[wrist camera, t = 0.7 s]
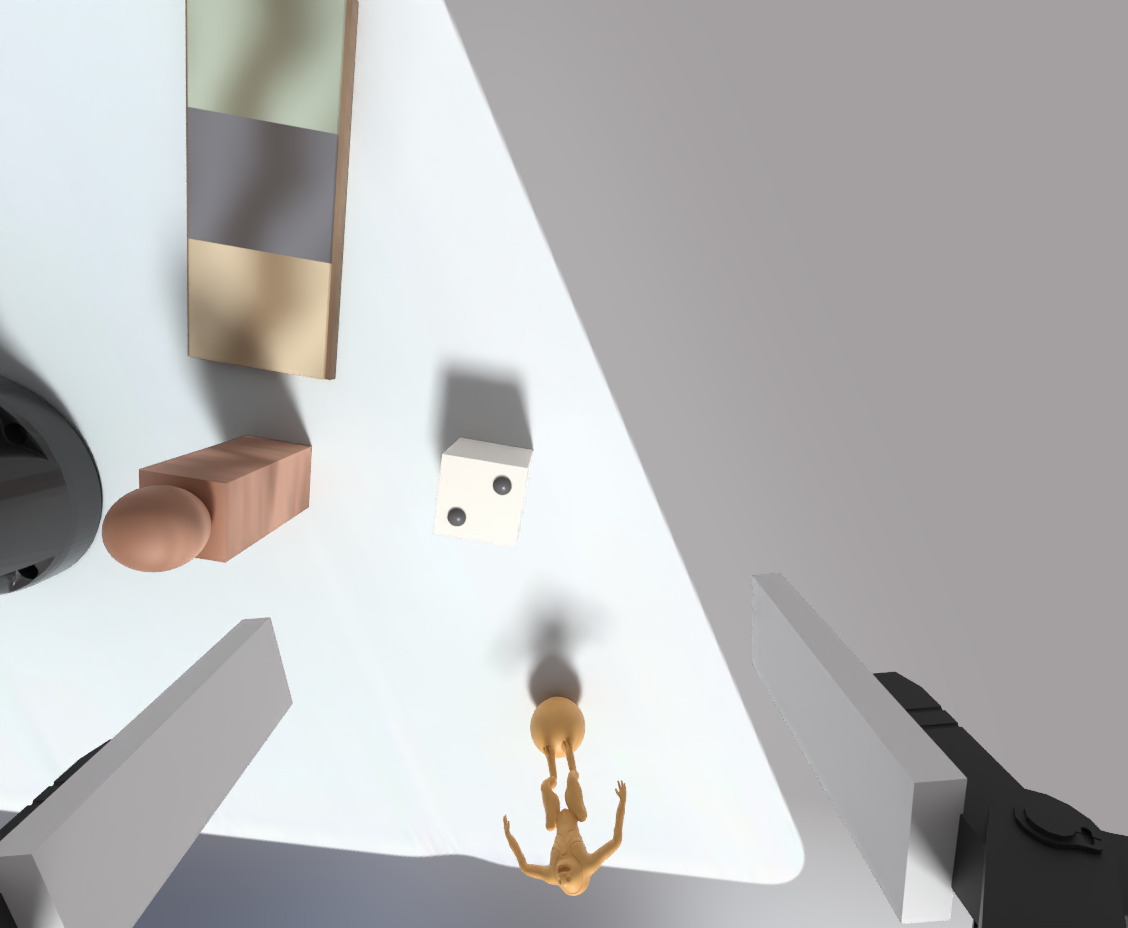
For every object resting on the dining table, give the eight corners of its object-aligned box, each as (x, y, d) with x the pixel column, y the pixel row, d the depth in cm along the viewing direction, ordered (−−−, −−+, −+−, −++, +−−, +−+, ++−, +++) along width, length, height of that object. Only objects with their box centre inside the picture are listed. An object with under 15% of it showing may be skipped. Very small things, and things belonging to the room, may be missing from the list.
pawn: (245, 496, 36) (76, 581, 24) (246, 435, 35) (70, 491, 23) (308, 507, 36) (173, 596, 24) (311, 446, 35) (172, 507, 23)
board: (196, 355, 34) (184, 355, 33) (195, -29, 29) (181, -43, 28) (335, 378, 34) (327, 380, 33) (358, 2, 29) (350, -11, 28)
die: (451, 506, 36) (432, 534, 31) (460, 437, 35) (441, 454, 30) (522, 518, 36) (514, 547, 31) (533, 449, 35) (527, 468, 30)
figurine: (600, 669, 39) (612, 812, 27) (627, 733, 40) (649, 894, 29) (498, 703, 40) (468, 855, 28) (528, 764, 41) (510, 933, 30)
